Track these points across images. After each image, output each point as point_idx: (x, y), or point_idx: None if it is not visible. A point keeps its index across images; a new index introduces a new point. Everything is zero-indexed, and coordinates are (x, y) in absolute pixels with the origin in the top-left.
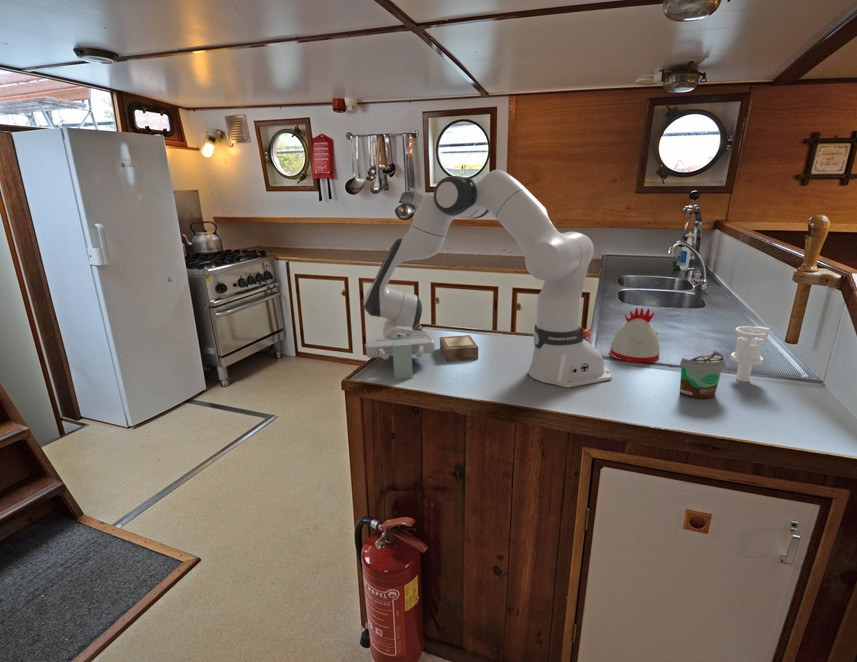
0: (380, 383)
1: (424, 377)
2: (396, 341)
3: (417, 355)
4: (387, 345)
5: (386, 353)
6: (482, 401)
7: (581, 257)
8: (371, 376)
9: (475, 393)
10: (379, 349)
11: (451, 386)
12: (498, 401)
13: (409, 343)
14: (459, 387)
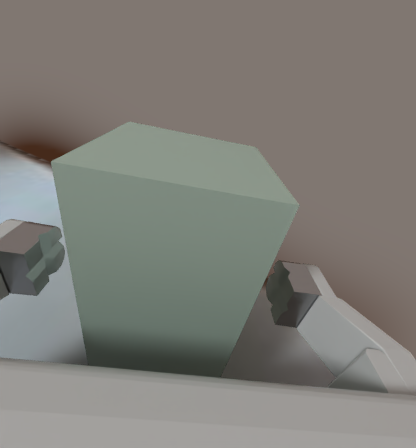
0: (264, 291)
1: (73, 286)
2: (238, 171)
3: (55, 247)
4: (361, 394)
5: (294, 264)
6: (42, 160)
7: None
8: (328, 377)
9: (19, 175)
10: (410, 363)
11: (40, 209)
12: (12, 153)
13: (131, 128)
14: (24, 200)
